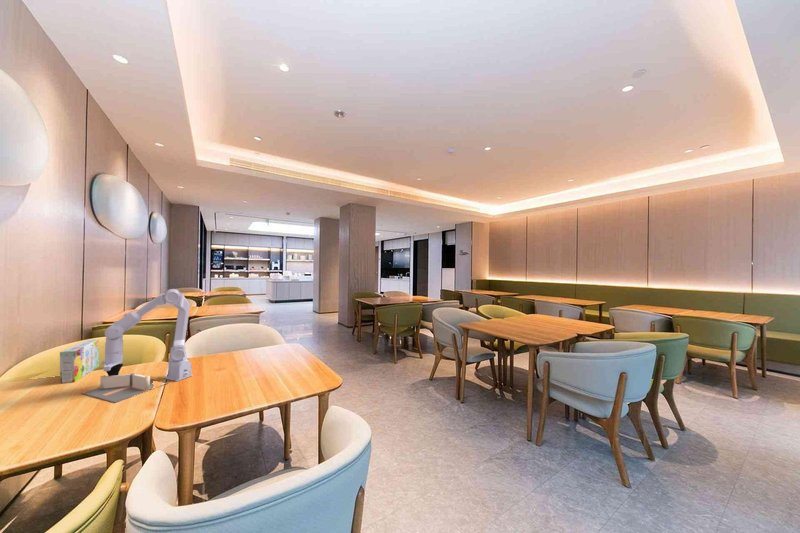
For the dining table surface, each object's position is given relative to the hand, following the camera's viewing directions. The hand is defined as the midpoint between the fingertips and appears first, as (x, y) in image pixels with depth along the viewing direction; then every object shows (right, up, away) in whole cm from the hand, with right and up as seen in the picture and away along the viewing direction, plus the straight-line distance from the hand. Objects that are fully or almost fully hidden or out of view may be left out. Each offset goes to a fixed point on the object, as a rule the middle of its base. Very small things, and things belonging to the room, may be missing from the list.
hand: (113, 381), depth 129 cm
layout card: (+6, -3, 0) cm, 7 cm away
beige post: (+2, -2, 0) cm, 3 cm away
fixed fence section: (+13, -3, 0) cm, 13 cm away
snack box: (-29, -2, +13) cm, 32 cm away
